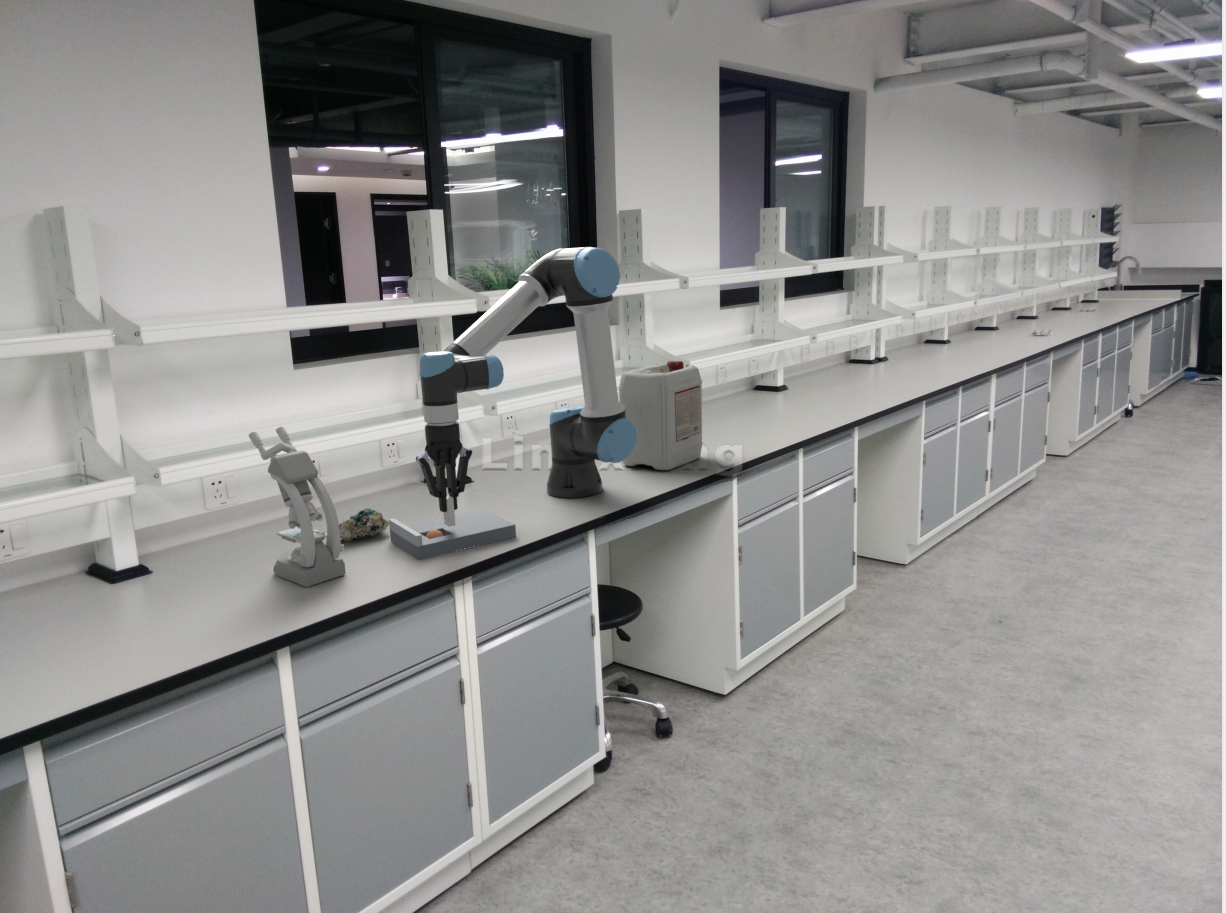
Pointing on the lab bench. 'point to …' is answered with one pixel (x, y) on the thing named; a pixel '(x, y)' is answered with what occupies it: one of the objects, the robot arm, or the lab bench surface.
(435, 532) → the ball
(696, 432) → the jerry can
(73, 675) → the lab bench surface
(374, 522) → the mineral specimen
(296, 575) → the microscope
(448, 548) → the grey flat block
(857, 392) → the lab bench surface
